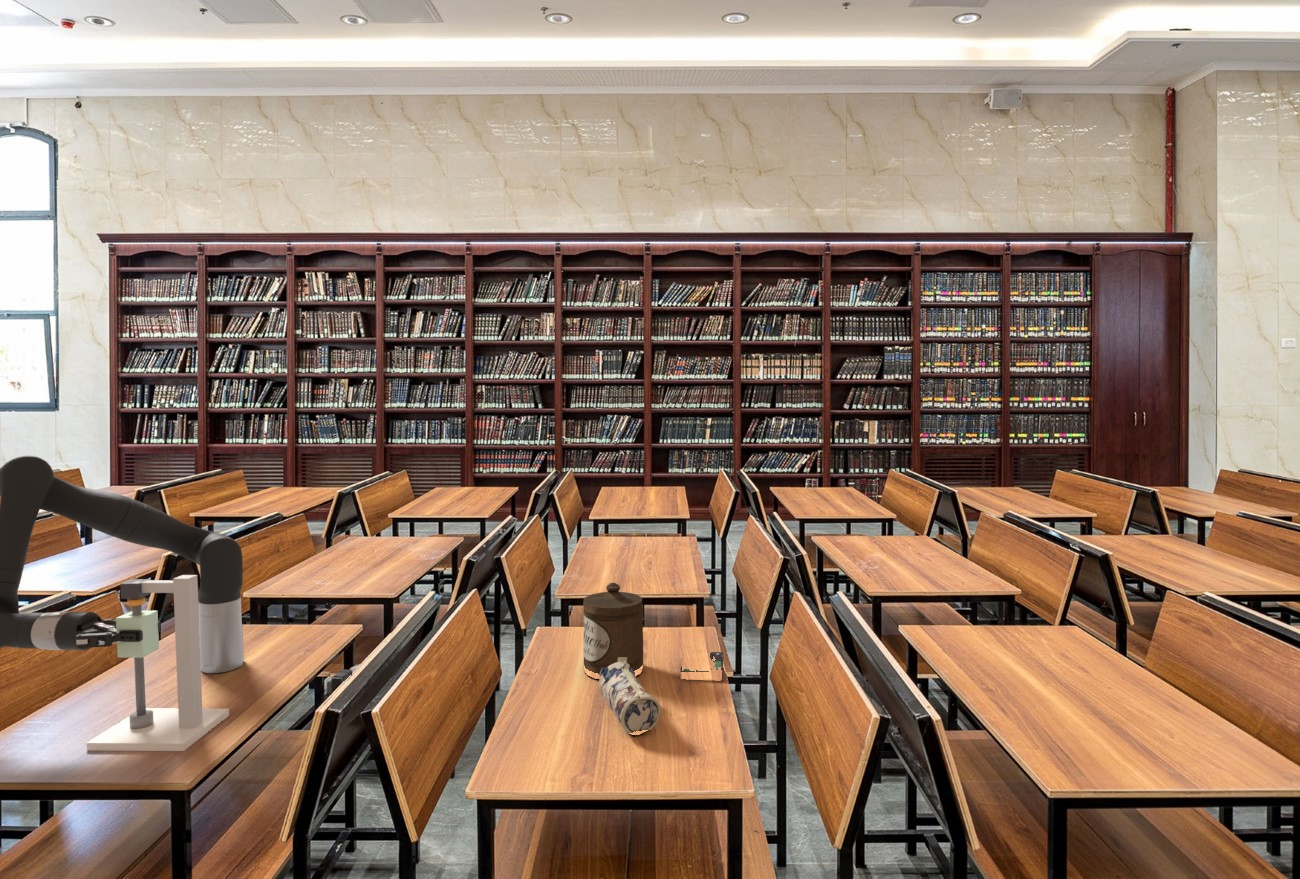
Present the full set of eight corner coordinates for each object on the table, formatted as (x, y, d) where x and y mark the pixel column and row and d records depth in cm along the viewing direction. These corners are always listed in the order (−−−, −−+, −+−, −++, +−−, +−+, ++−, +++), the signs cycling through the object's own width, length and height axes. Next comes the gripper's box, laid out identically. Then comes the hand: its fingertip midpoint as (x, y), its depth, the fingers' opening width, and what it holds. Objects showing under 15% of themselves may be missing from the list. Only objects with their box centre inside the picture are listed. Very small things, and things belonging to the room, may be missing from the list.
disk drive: (683, 660, 199) (680, 681, 185) (683, 650, 199) (680, 670, 184) (723, 662, 198) (723, 683, 184) (723, 651, 198) (723, 672, 183)
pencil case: (597, 700, 173) (597, 658, 172) (633, 696, 175) (633, 654, 175) (622, 743, 152) (622, 695, 151) (663, 738, 154) (663, 690, 154)
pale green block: (134, 648, 157) (133, 610, 156) (159, 649, 157) (157, 610, 156) (117, 657, 152) (115, 617, 151) (142, 657, 152) (141, 618, 151)
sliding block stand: (142, 714, 164) (136, 567, 161) (229, 715, 164) (224, 567, 161) (87, 750, 148) (79, 586, 145) (183, 751, 148) (176, 587, 145)
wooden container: (575, 665, 194) (575, 579, 193) (630, 657, 200) (630, 573, 198) (594, 686, 181) (594, 594, 179) (652, 677, 186) (653, 587, 185)
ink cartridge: (342, 713, 165) (341, 677, 164) (332, 713, 165) (331, 677, 164) (354, 703, 170) (352, 668, 169) (344, 703, 170) (342, 668, 169)
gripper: (37, 623, 147) (125, 624, 147) (92, 602, 161) (172, 602, 161) (39, 661, 147) (127, 662, 147) (93, 637, 162) (174, 637, 162)
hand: (150, 631), depth 154 cm, fingers closed on pale green block, 5 cm apart
